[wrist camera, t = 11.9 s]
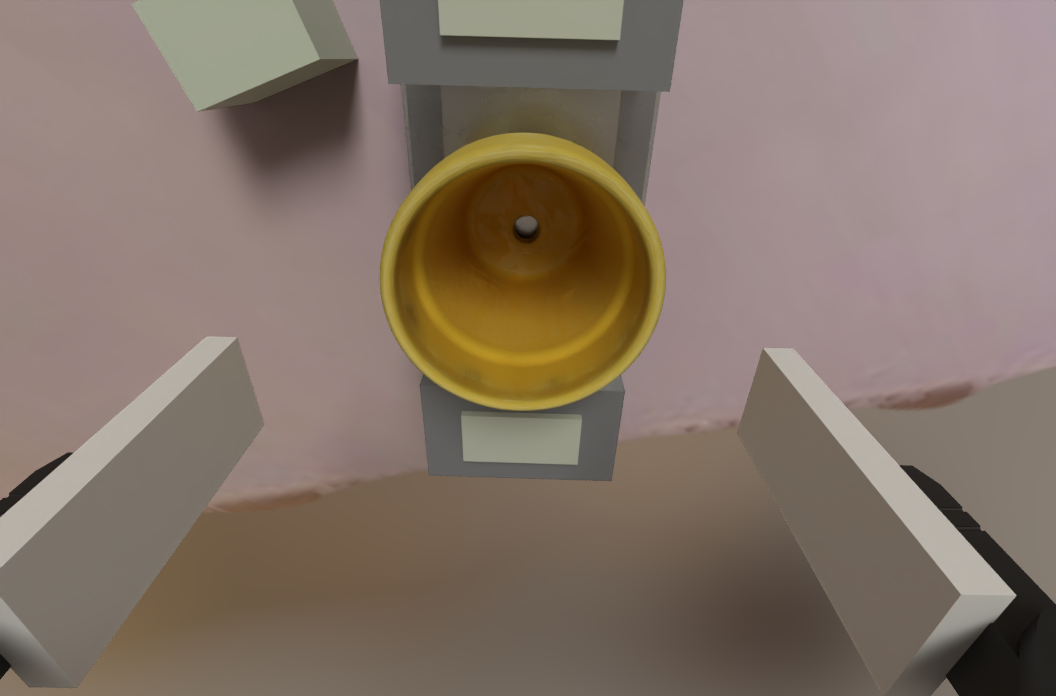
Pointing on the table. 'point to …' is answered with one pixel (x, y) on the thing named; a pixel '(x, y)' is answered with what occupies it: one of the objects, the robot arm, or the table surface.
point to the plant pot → (522, 273)
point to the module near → (532, 43)
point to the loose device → (245, 45)
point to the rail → (532, 125)
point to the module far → (522, 437)
